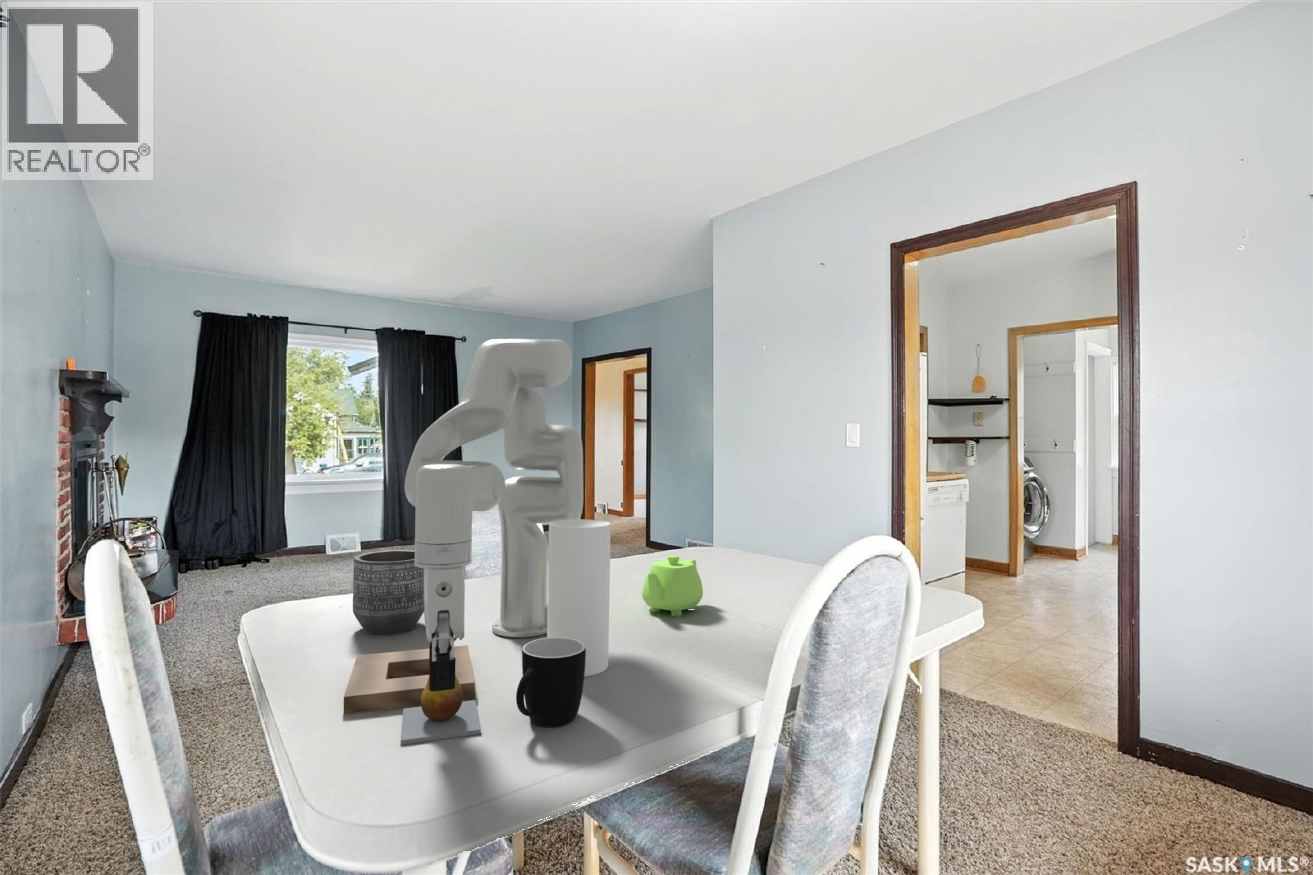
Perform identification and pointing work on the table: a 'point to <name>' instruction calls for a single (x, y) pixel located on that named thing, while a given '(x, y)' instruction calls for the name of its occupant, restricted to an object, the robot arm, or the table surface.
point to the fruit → (441, 701)
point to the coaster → (439, 724)
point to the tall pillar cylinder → (580, 587)
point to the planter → (387, 591)
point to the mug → (551, 680)
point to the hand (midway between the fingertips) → (441, 676)
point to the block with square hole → (399, 679)
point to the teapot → (672, 586)
